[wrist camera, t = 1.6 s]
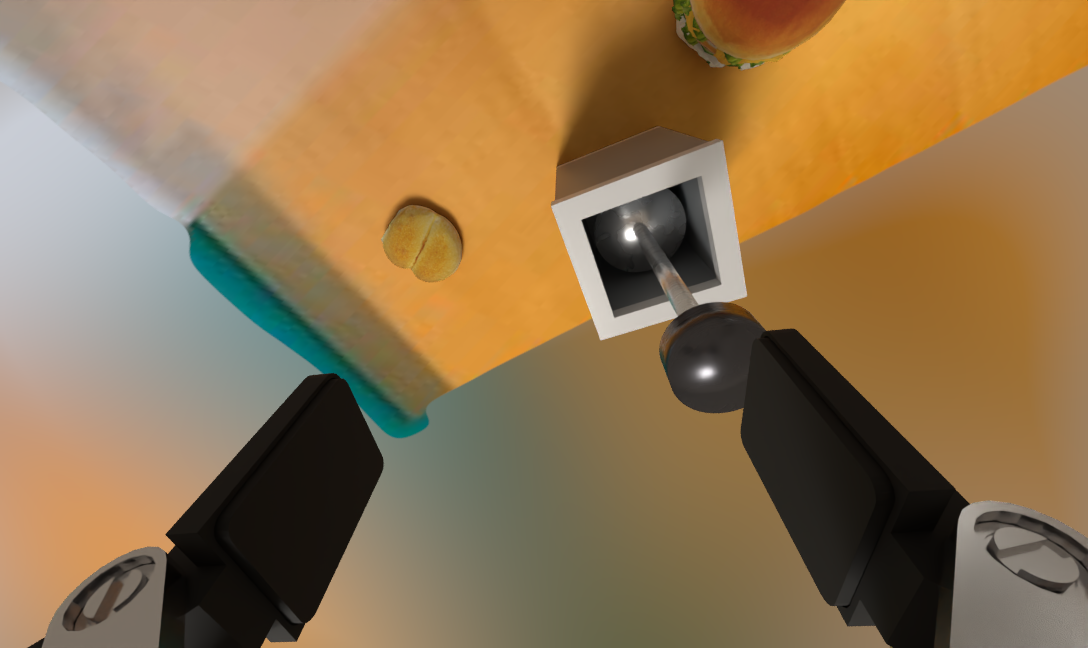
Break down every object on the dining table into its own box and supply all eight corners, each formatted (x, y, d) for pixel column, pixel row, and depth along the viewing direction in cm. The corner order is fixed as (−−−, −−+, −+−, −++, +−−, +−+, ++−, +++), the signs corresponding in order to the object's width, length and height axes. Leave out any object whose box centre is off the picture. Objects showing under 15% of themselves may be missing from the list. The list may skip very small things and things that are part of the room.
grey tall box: (659, 123, 41) (722, 140, 25) (682, 227, 46) (747, 296, 30) (554, 165, 43) (551, 206, 27) (587, 260, 48) (600, 340, 32)
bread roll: (444, 287, 51) (436, 301, 48) (379, 247, 49) (365, 259, 45) (478, 236, 48) (471, 247, 44) (409, 190, 45) (397, 198, 42)
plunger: (673, 166, 32) (820, 257, 14) (691, 252, 35) (829, 415, 17) (581, 200, 34) (607, 323, 15) (608, 279, 37) (654, 456, 19)
